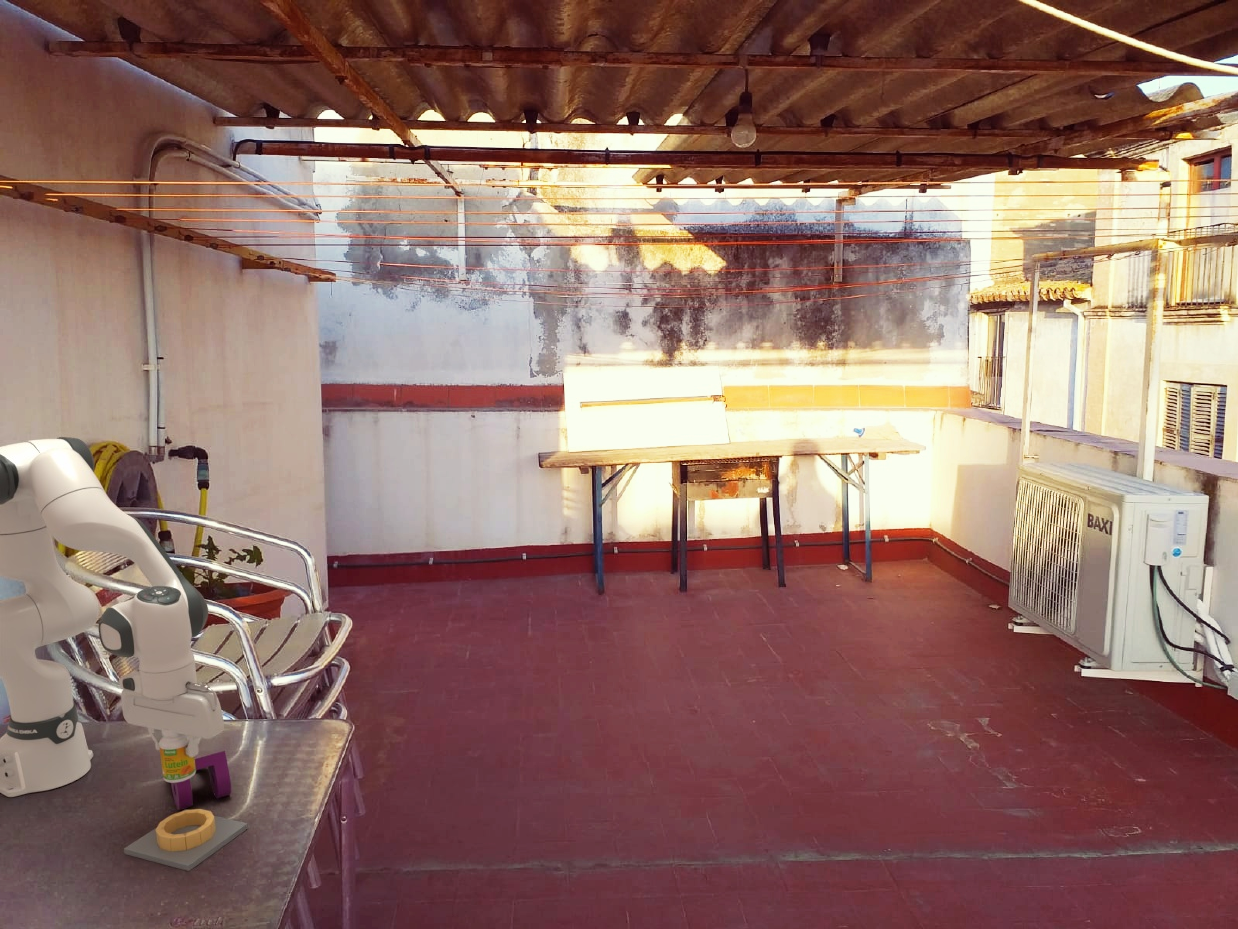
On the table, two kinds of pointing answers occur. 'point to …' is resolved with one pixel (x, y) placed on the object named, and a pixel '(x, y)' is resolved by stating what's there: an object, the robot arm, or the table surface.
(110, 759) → the table surface
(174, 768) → the supplement bottle
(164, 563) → the robot arm
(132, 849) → the plate
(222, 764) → the mounting bracket
